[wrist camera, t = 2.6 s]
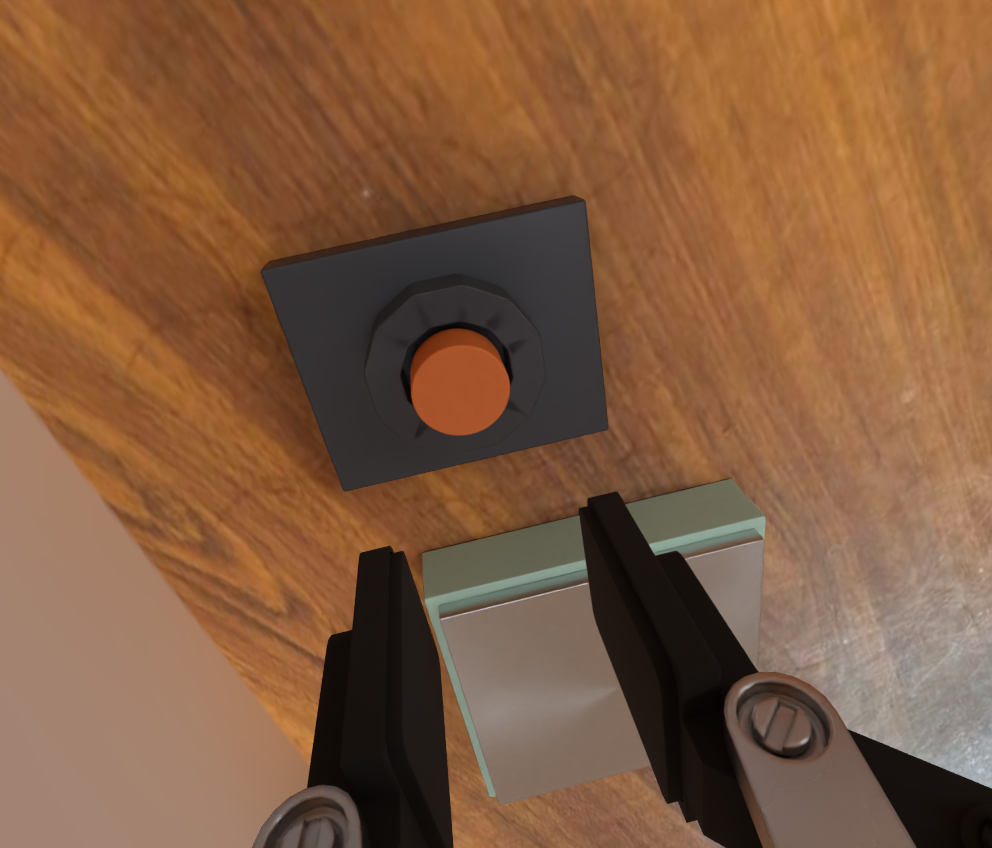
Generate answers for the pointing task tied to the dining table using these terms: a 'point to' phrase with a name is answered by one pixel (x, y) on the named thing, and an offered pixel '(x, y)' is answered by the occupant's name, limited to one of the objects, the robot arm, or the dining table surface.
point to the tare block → (437, 307)
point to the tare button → (458, 382)
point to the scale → (572, 635)
